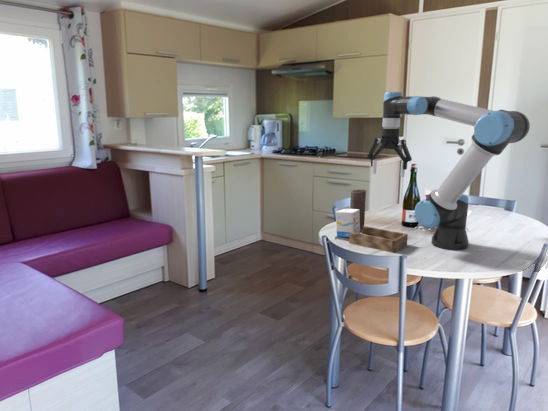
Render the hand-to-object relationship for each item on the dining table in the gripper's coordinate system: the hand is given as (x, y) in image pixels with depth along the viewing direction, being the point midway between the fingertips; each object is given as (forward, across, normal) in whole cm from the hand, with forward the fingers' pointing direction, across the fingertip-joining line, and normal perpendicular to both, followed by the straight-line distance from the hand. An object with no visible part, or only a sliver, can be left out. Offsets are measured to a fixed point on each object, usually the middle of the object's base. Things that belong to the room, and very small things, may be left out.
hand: (387, 175), depth 200 cm
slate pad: (+29, +12, +12) cm, 34 cm away
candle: (+29, +15, -1) cm, 33 cm away
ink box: (+28, +12, +12) cm, 33 cm away
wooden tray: (+29, -2, +13) cm, 32 cm away
